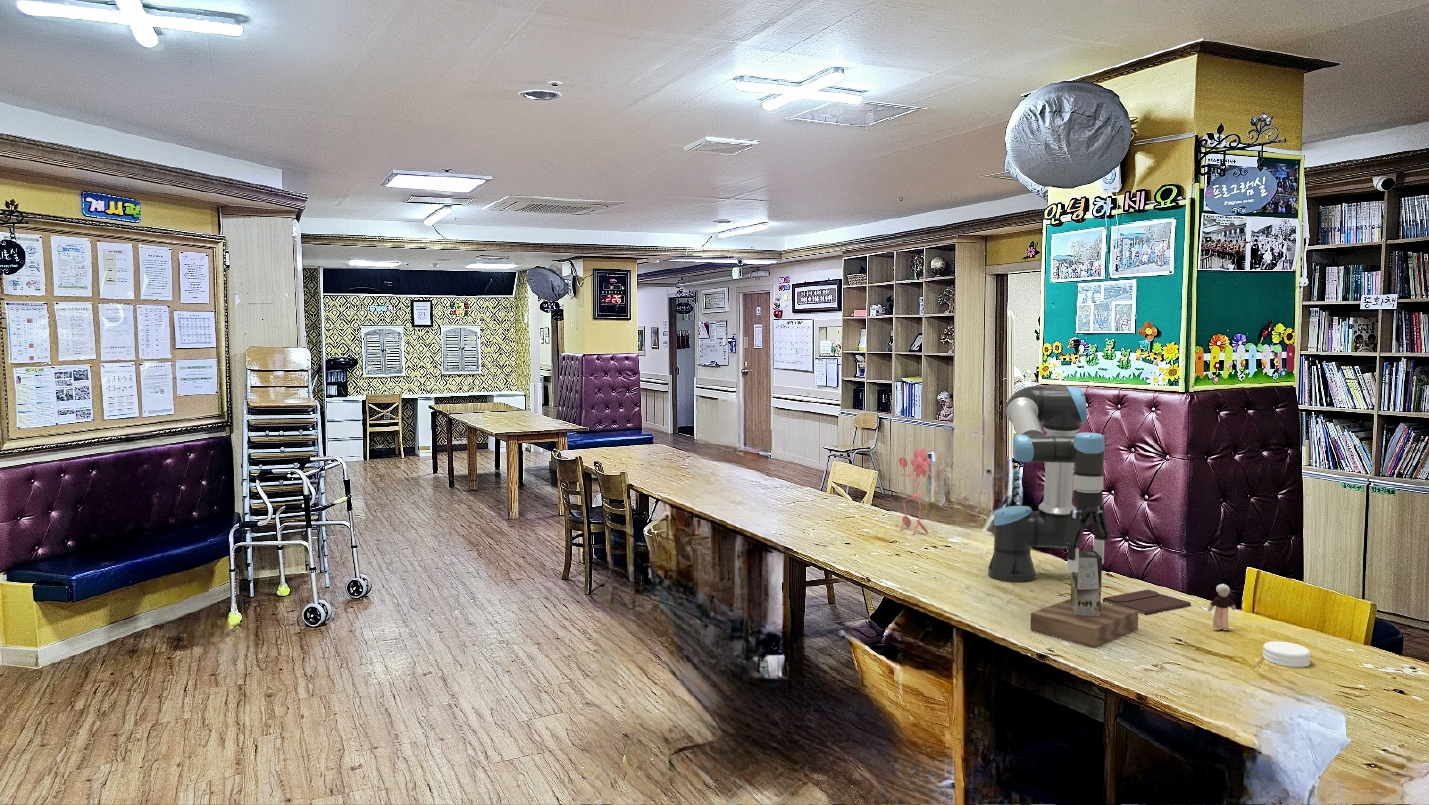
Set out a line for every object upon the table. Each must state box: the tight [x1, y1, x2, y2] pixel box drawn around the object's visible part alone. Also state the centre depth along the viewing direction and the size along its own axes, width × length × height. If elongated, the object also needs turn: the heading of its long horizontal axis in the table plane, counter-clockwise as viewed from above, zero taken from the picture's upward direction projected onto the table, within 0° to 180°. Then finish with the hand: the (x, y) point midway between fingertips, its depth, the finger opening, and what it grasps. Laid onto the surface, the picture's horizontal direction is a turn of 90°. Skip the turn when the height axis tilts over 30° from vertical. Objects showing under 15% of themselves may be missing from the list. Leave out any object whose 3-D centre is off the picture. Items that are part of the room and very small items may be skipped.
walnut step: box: [1029, 598, 1139, 649], centre depth 247 cm, size 24×18×5 cm
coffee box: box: [1070, 549, 1103, 617], centre depth 247 cm, size 9×6×16 cm
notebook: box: [1102, 589, 1192, 616], centre depth 271 cm, size 15×20×2 cm
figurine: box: [898, 446, 938, 536], centre depth 373 cm, size 15×26×35 cm, turn 22°
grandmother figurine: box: [1207, 583, 1237, 631], centre depth 247 cm, size 8×4×13 cm, turn 105°
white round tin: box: [1262, 640, 1312, 668], centre depth 224 cm, size 10×10×4 cm
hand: (1085, 567), depth 247 cm, fingers open, 13 cm apart
